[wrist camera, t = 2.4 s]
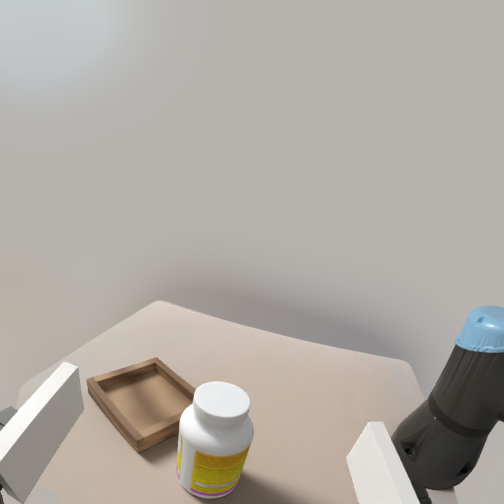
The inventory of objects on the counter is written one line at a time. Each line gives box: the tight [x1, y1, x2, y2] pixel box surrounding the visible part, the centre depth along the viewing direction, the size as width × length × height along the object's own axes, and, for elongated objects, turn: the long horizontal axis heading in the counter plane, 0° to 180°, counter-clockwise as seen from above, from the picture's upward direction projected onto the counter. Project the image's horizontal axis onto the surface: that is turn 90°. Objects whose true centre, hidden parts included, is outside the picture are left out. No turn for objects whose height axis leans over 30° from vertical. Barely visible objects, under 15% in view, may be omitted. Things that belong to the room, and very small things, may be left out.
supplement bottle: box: [177, 382, 254, 498], centre depth 24 cm, size 7×7×13 cm
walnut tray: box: [87, 357, 196, 453], centre depth 34 cm, size 12×12×2 cm
